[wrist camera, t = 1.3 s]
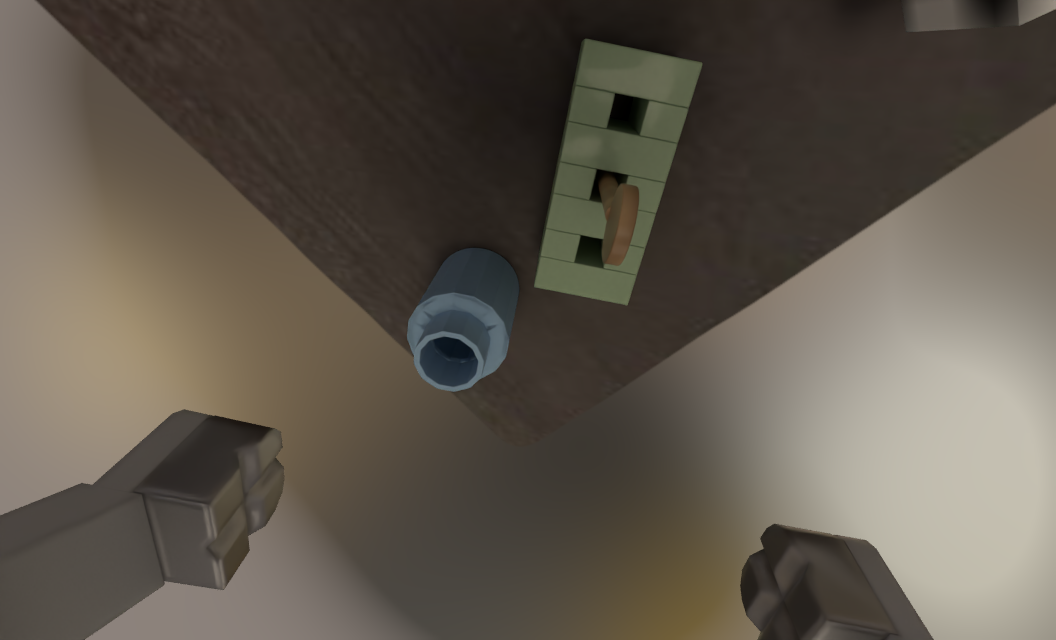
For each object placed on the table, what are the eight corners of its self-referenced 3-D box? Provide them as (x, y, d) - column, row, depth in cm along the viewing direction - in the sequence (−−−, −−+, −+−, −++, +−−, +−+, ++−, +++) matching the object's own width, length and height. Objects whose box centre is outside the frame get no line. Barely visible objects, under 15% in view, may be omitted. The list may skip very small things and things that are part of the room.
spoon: (601, 136, 37) (622, 193, 22) (616, 140, 37) (648, 198, 22) (588, 190, 39) (599, 275, 24) (603, 193, 39) (624, 279, 24)
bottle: (441, 240, 42) (397, 304, 31) (525, 256, 42) (511, 326, 31) (433, 314, 45) (392, 395, 34) (511, 330, 45) (494, 414, 35)
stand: (581, 40, 34) (584, 38, 28) (679, 60, 34) (703, 62, 28) (538, 252, 41) (533, 287, 35) (618, 268, 42) (627, 305, 35)
